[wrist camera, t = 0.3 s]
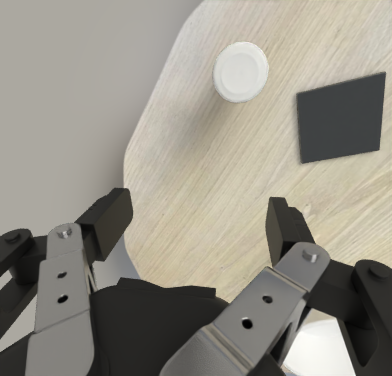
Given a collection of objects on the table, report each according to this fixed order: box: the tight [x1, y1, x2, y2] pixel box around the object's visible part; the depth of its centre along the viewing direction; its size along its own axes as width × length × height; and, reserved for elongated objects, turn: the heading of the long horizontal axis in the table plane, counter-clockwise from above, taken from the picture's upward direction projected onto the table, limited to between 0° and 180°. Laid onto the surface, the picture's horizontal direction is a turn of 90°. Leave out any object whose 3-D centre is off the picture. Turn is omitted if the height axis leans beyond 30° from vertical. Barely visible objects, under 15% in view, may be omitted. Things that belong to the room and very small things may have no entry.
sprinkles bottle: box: [212, 41, 268, 103], centre depth 24 cm, size 5×5×13 cm
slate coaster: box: [296, 72, 386, 164], centre depth 31 cm, size 10×10×1 cm
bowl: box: [283, 309, 356, 376], centre depth 45 cm, size 21×21×8 cm
